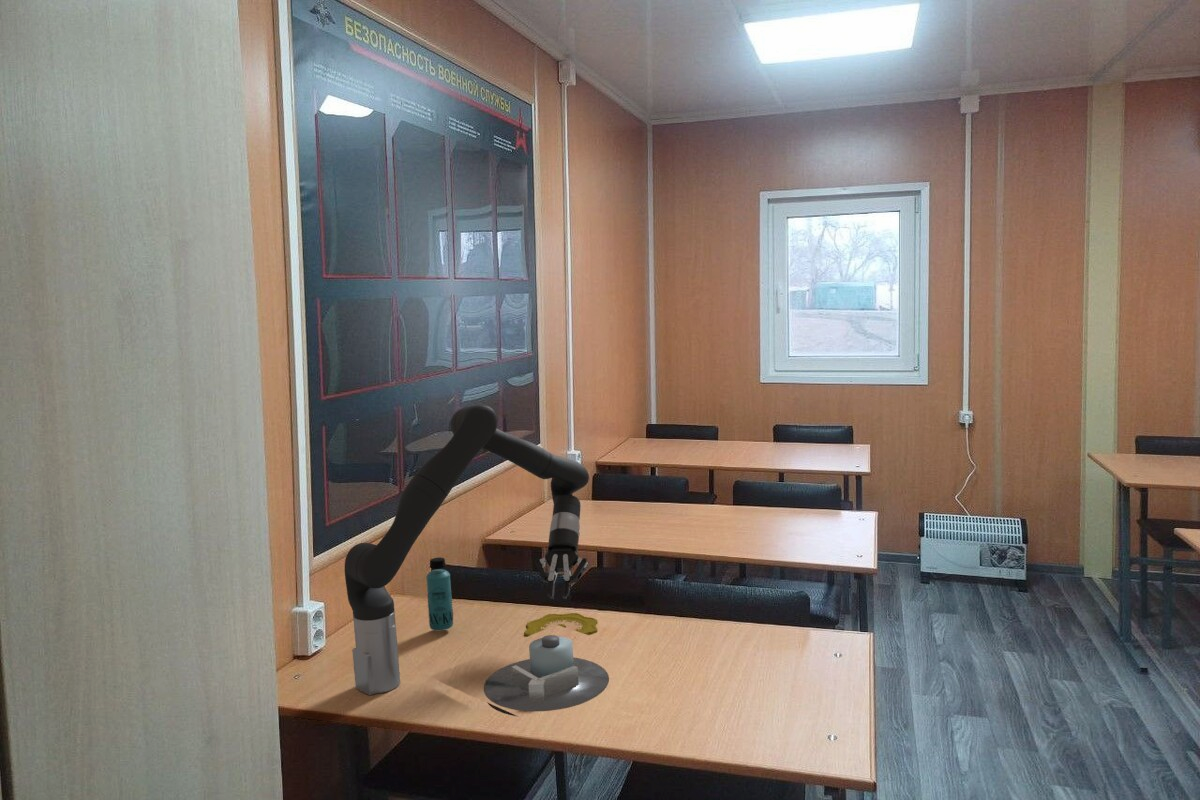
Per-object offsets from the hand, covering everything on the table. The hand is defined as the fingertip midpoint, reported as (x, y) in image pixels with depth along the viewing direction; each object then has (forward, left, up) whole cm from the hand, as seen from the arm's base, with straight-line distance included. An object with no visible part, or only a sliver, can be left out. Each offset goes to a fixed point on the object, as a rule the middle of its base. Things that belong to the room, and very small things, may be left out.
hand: (557, 597), depth 214 cm
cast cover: (-9, -6, -13) cm, 17 cm away
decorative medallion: (+13, +14, -16) cm, 24 cm away
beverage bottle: (-8, +38, -15) cm, 41 cm away
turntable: (-14, -10, -15) cm, 23 cm away
